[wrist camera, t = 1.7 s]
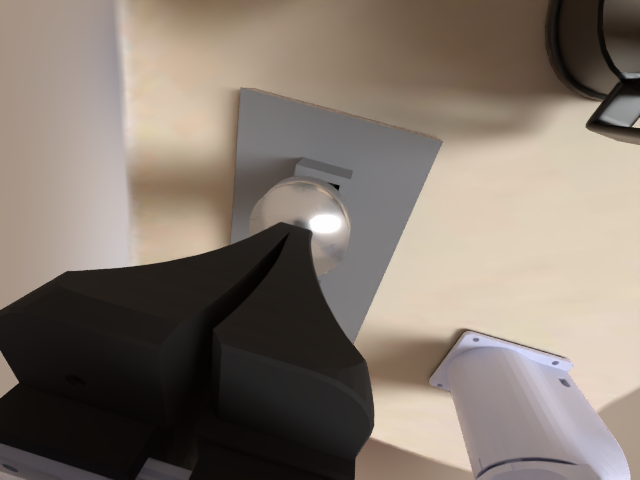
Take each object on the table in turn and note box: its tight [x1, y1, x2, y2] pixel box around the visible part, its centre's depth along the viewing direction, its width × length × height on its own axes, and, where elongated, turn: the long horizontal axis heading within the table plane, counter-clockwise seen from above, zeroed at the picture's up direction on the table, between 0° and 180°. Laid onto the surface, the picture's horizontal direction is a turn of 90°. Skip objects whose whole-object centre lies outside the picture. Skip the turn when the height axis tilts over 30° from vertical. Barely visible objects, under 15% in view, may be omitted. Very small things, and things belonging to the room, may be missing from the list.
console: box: [230, 88, 442, 344], centre depth 20 cm, size 12×18×4 cm, turn 167°
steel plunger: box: [249, 176, 351, 276], centre depth 14 cm, size 4×4×6 cm
